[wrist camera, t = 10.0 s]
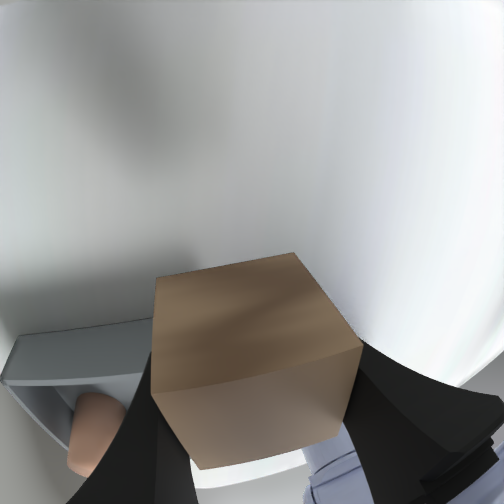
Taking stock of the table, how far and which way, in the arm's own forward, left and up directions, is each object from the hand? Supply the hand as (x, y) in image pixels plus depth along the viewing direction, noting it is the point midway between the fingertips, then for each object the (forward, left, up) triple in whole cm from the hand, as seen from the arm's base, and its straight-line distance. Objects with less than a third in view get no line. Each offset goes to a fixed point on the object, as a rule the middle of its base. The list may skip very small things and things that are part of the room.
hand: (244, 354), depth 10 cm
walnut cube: (0, 0, -2) cm, 2 cm away
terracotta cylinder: (+13, +14, -9) cm, 21 cm away
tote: (+9, +11, -9) cm, 17 cm away
